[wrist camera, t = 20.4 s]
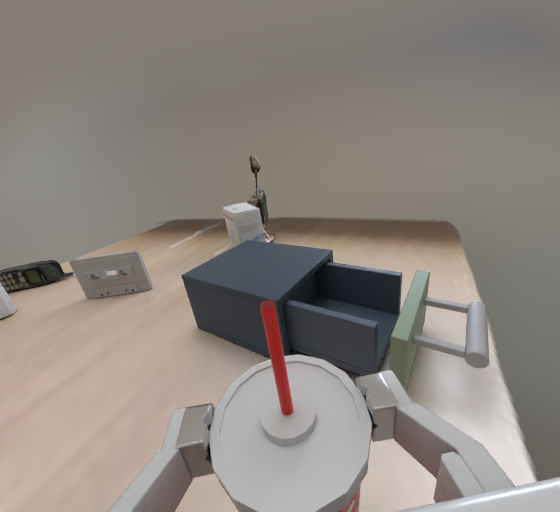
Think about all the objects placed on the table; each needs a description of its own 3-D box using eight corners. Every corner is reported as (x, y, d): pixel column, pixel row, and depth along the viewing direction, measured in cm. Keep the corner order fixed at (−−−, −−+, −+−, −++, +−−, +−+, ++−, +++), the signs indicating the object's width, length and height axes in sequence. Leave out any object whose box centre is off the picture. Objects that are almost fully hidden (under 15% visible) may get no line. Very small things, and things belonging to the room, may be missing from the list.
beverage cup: (227, 557, 13) (122, 335, 8) (292, 444, 17) (255, 254, 12) (343, 687, 10) (302, 448, 4) (387, 505, 14) (396, 275, 9)
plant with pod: (280, 231, 70) (269, 151, 62) (271, 246, 60) (257, 154, 52) (251, 233, 72) (237, 156, 64) (238, 248, 62) (219, 159, 54)
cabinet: (335, 303, 36) (332, 249, 33) (287, 366, 27) (276, 301, 24) (255, 284, 45) (247, 239, 41) (197, 327, 35) (181, 275, 32)
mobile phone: (-26, 278, 52) (59, 258, 56) (-15, 272, 55) (65, 254, 58) (-11, 299, 54) (70, 278, 58) (-2, 292, 57) (75, 273, 60)
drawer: (478, 333, 27) (489, 279, 24) (478, 431, 18) (495, 365, 16) (317, 296, 37) (313, 255, 35) (270, 348, 29) (261, 300, 26)
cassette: (85, 300, 47) (66, 262, 44) (91, 295, 49) (73, 258, 46) (150, 290, 48) (136, 252, 45) (154, 285, 49) (140, 248, 46)
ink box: (272, 269, 49) (262, 207, 45) (247, 277, 47) (234, 214, 43) (255, 255, 57) (245, 201, 52) (233, 261, 55) (221, 206, 50)
